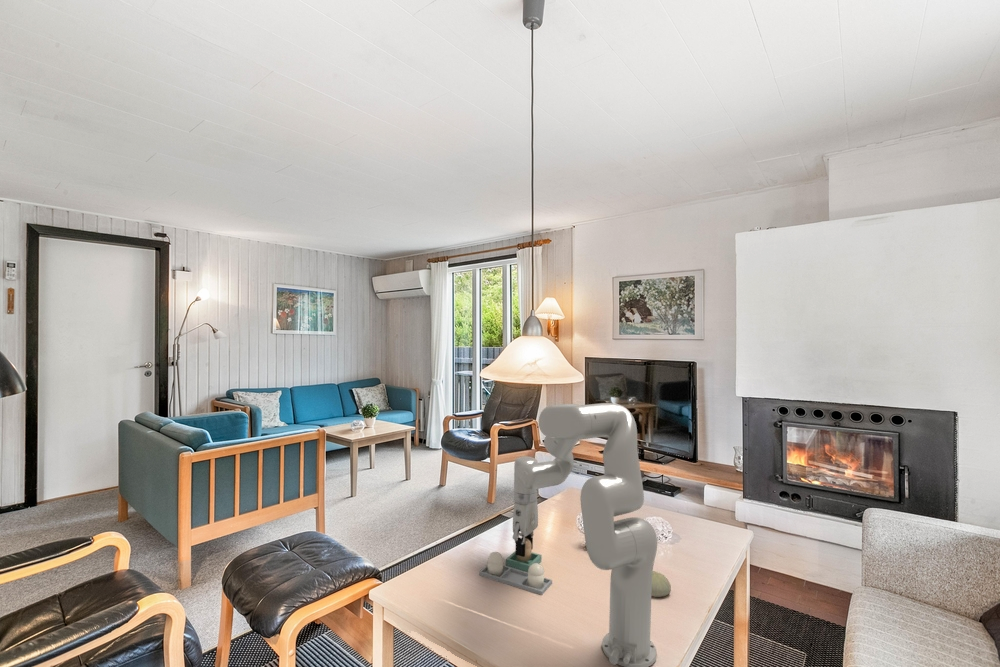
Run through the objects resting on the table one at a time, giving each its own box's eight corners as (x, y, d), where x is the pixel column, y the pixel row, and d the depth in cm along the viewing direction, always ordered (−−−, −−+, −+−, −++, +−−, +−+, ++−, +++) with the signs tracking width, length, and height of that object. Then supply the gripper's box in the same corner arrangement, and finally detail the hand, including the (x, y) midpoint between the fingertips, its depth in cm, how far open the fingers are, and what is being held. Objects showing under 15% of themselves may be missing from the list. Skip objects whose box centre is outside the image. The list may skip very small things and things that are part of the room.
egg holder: (530, 574, 150) (530, 566, 150) (505, 567, 154) (505, 559, 154) (541, 562, 157) (541, 555, 157) (518, 556, 161) (518, 548, 161)
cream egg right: (539, 591, 139) (540, 569, 139) (524, 586, 141) (525, 565, 141) (546, 584, 143) (546, 562, 143) (531, 579, 146) (532, 558, 145)
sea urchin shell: (651, 596, 136) (641, 566, 141) (640, 604, 141) (630, 576, 146) (679, 592, 138) (668, 563, 143) (667, 600, 143) (656, 572, 149)
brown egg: (527, 562, 152) (527, 542, 152) (513, 559, 154) (514, 539, 154) (533, 556, 156) (534, 537, 156) (520, 553, 159) (520, 533, 159)
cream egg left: (498, 578, 146) (498, 557, 146) (484, 574, 148) (485, 553, 148) (505, 571, 150) (506, 551, 150) (492, 567, 152) (492, 547, 152)
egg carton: (541, 596, 137) (542, 591, 137) (478, 576, 148) (479, 571, 148) (552, 584, 144) (552, 579, 144) (491, 566, 154) (491, 561, 154)
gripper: (524, 506, 146) (522, 566, 146) (546, 490, 161) (545, 544, 161) (502, 501, 149) (501, 560, 150) (526, 486, 164) (525, 539, 165)
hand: (524, 551), depth 155 cm, fingers closed on brown egg, 4 cm apart
